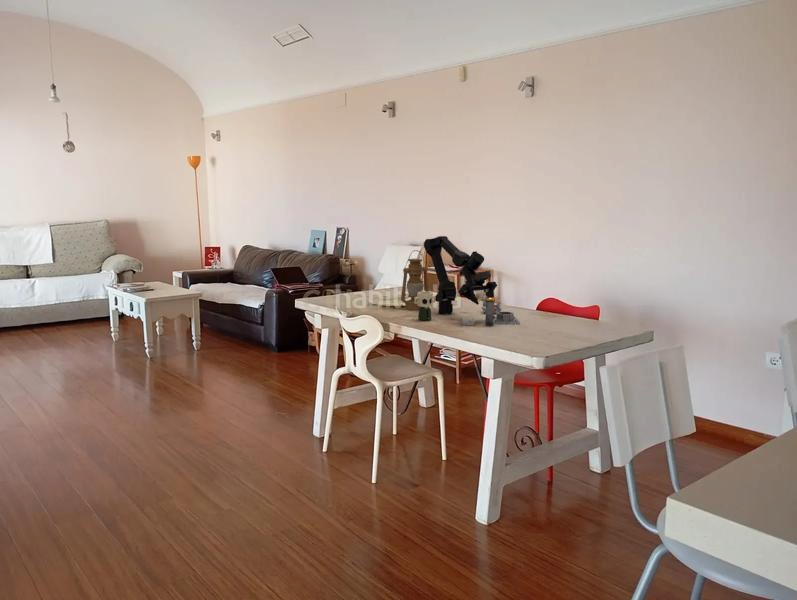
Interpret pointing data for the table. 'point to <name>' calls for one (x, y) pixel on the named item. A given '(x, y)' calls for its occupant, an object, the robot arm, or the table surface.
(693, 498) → the table surface
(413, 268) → the lantern
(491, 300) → the copper-capped metal post
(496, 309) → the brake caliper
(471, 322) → the loose bracket
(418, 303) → the big-eyed figurine
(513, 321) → the silver bolted socket base
